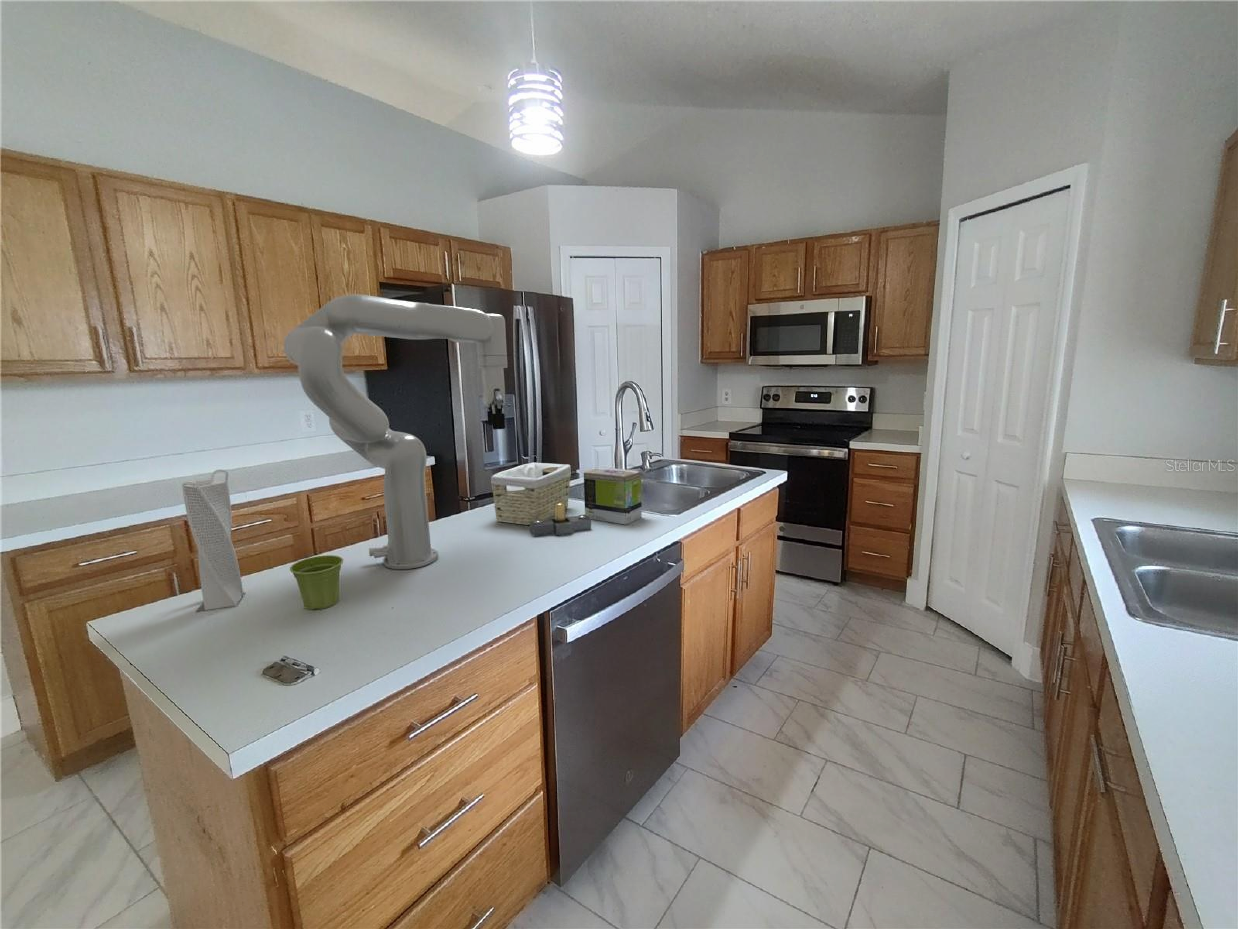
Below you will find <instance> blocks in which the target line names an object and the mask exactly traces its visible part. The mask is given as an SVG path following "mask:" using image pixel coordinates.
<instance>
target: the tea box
mask: <svg viewBox="0 0 1238 929" xmlns="http://www.w3.org/2000/svg"><path fill="white" fill-rule="evenodd" d="M583 489H584V490H583V491H584V492H583V494H584V515H587V516H588V517H589V518H590V519H591V520H596V521H600V522H601V521H602V522H607V523H614V524H621V525H629V524H631V523H633V522H635V521H638V520H639V519H641V518H642V516H643V514H642V512H643V511H642V509H643V506H642V505H643V504H642V503H643V501H642V497H643V496H642V494H643V493H642V471H641V470H636V469H632V470H631V469H625V468H624V469H623V468H614V467H604V466H601V467H598V468H593V469H590V470H587V471H584V472H583Z"/></svg>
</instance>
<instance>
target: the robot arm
mask: <svg viewBox="0 0 1238 929" xmlns="http://www.w3.org/2000/svg"><path fill="white" fill-rule="evenodd" d="M506 334H507V332H506V319H505V317H504V316H503V314H498V313H485V312H483V311H481V310H479V309H474V308H473V309H472V308H467V307H459V306H452V305H442V304H433V303H426V302H416V301H409V300H401V299H394V298H388V297H387V298H386V297H381V296H374V295H369V294H368V295H367V294H361V293H360V294H358V293H353V294H352V293H350V294H347V295H341V296H338V297H335V298H333V299H331V300H330V301H328V302H326V303H325V304H324V305H322V307H320V308H319V309H317V311H315V312H314V313H313V314H311V315H310V316H309V317H307V318H306V319H305V320H303V321H302V322H300V323H299V324H298V325H297V326H296V327H294V328H293V329H291V330H290V331H289V332H288V333H287V334H286V336H285V338H284V340H283V346H282V347H283V352H284V354H285V356H286V358H287V360H288V361H290V362H291V363H292V364H293V365H296V366H297V367H298V368H297V370H298V377H299V381H300V384H301V388H302V390H303V392H304V393H305V395H306V396H307V398H308V399H309V401H311V403H313V405H315V406H316V407H317V408H318V409H319V410H320V411H321V412H322V413H324V414H325V416H327V417H328V422H329V426H330V429H331V430H332V432H333V434H335V436H336V437H337V438H339V439H340V440H341V441H343V443H345V445H346V446H348V447H350V448H351V449H352V450H353V451H354V452H356V453H357V454H359V456H360V457H362V458H363V459H365V460H366V461H367V462H369V464H371V465H373V466H375V467H378V468H380V469H384V477H383V486H382V487H383V488H382V489H383V490H382V492H383V494H382V495H383V502H384V503H383V504H384V512H385V521H386V531H387V532H386V533H387V539H388V541H387V544H386V545H383V546H382V547H372V548H368V554H369V555H368V556H369V557H374V559H378V558H379V559H381V558H383V559H382V561H383V566H384V567H387V568H389V569H392V570H410V569H415V568H416V569H417V568H421V567H424V566H427V565H430V564H432V563H434V562H436V560H437V559H438V558H439V553H438V552H439V551H437V550H436V549H435V548H432V546H431V534H430V522H429V511H428V510H429V509H428V499H427V498H428V497H427V489H426V471H427V469H426V468H427V458H428V456H427V450H426V448H425V445H424V443H423V442H422V441H421V439H419V438H418V437H417V436H415V435H413V434H411V433H407V432H403V431H395V430H392V429H390V421H389V418H388V416H387V415H386V413H385V412H384V410H382V408H380V407H379V406H378V405H377V404H376V403H374V402H373V401H372V400H370V399H369V397H367V396H366V395H365V394H364V393H363V392H362V391H360V390H359V389H358V387H356V386H355V385H354V384H353V382H351V381H350V380H349V378H348V377H347V376H346V374H345V372H344V369H343V354H344V348H343V347H344V346H343V344H344V343H345V342H346V341H347V340H348V339H349V338H351V337H352V336H354V335H364V336H373V337H374V336H375V337H383V338H384V337H386V338H394V339H395V338H397V339H402V340H403V339H404V340H405V339H406V340H434V339H437V340H438V339H442V340H443V339H444V340H445V339H447V340H450V341H451V342H453V343H457V344H467V343H476V348H477V349H476V350H477V365H478V367H477V368H478V369H481V371H482V372H481V381H482V382H481V383H482V384H481V386H482V387H481V388H482V404H483V405H484V406H486V407H487V410H486V412H487V413H486V414H487V425H488V426H492V430H505V429H506V417H505V415H506V414H505V409H504V405H506V388H505V373H504V369H507V368H508V356H507V355H508V353H507V335H506Z"/></svg>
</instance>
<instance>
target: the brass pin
mask: <svg viewBox="0 0 1238 929" xmlns="http://www.w3.org/2000/svg"><path fill="white" fill-rule="evenodd" d="M566 512H567V508H566V504H565V502H556V503H554V517H555V523H563V522H566V517H567V513H566Z"/></svg>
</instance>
